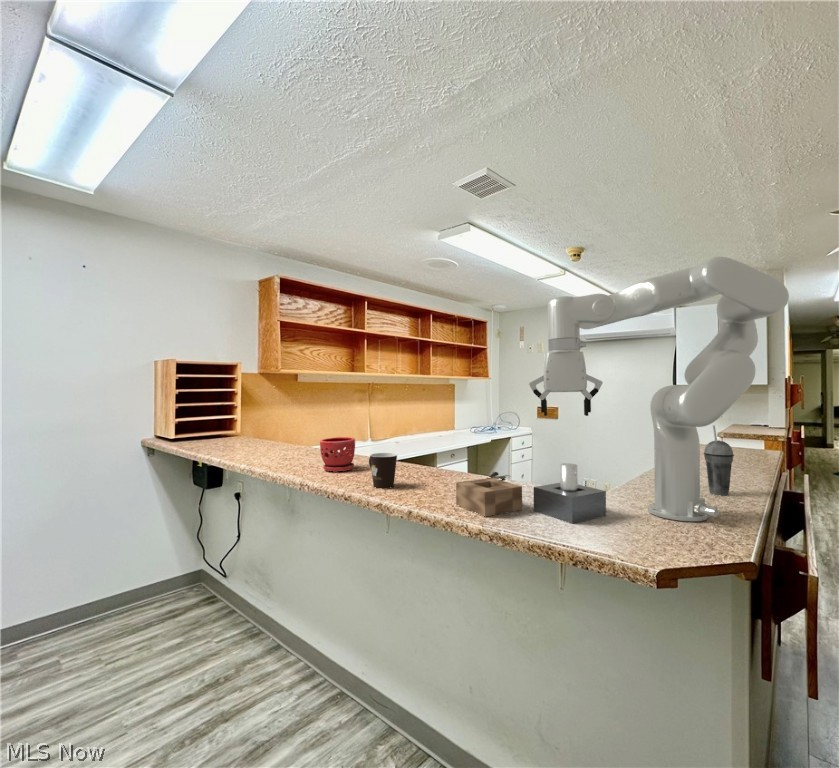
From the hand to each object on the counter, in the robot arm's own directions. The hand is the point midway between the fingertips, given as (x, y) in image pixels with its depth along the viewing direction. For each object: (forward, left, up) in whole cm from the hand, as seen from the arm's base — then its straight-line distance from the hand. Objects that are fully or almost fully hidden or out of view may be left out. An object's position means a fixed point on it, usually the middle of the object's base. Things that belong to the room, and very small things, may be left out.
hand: (565, 415), depth 106 cm
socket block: (-1, 0, -24) cm, 24 cm away
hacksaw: (+35, -8, -25) cm, 44 cm away
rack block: (+13, +14, -24) cm, 31 cm away
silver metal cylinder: (-1, 0, -24) cm, 24 cm away
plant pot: (+82, +31, -24) cm, 91 cm away
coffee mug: (+50, +27, -24) cm, 62 cm away
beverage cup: (-10, -53, -24) cm, 59 cm away
